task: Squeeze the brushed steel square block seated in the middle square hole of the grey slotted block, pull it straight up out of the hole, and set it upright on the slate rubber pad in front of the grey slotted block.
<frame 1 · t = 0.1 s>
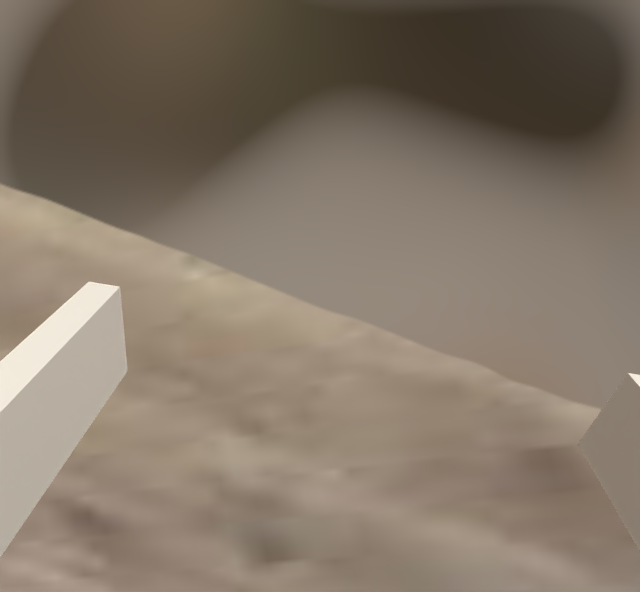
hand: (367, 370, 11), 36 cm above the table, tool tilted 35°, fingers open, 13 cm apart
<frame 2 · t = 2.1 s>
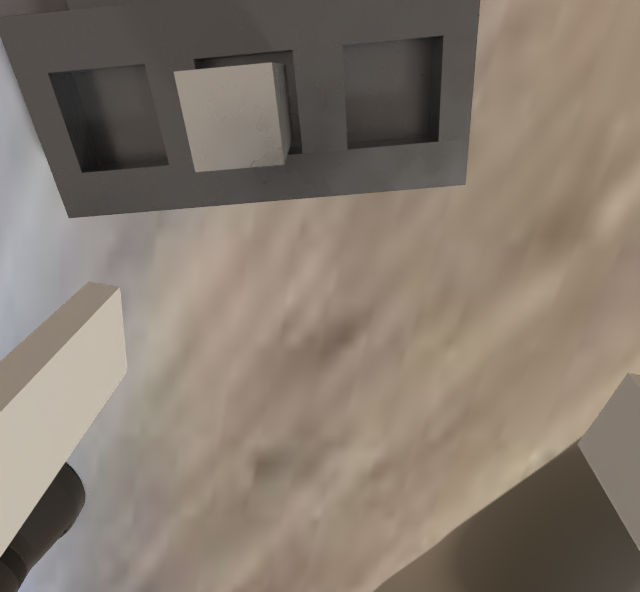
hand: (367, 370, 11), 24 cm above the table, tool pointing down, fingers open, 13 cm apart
steel block: (256, 105, 29), point 1 cm above the table, touching grey slotted block
grey slotted block: (258, 104, 30), on the table
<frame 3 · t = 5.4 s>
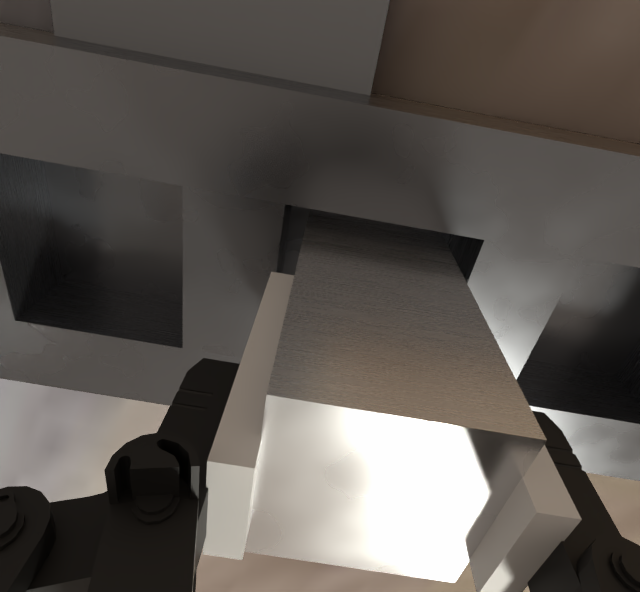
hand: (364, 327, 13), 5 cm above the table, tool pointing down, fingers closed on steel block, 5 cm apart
steel block: (360, 266, 17), point 1 cm above the table, touching gripper, grey slotted block
grey slotted block: (360, 255, 17), on the table
when the fingers open (6 cm above the table, at t = 11.7 s): steel block stays where it is, resting on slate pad.
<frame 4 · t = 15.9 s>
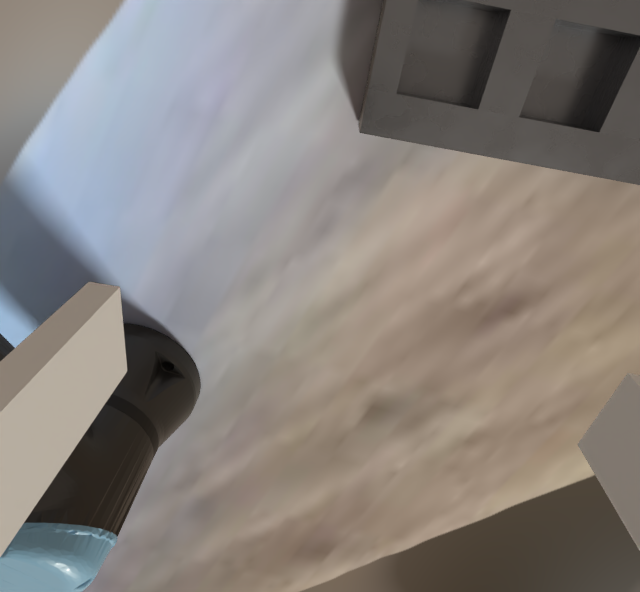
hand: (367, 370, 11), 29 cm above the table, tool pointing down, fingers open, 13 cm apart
grey slotted block: (554, 75, 32), on the table
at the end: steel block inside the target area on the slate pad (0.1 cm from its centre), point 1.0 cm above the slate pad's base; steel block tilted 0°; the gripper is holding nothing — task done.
